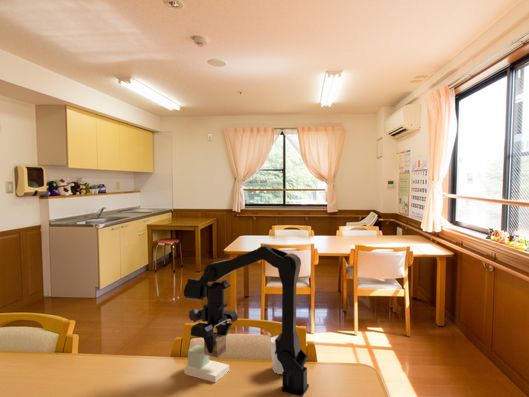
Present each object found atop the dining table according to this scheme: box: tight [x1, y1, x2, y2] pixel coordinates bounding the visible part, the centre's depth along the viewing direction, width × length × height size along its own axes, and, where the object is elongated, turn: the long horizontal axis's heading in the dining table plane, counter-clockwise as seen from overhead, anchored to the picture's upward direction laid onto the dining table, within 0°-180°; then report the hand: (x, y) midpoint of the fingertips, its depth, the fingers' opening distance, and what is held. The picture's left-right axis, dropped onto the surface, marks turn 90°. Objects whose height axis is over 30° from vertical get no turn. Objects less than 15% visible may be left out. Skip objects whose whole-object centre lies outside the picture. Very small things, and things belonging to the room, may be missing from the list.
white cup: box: [270, 335, 284, 376], centre depth 109 cm, size 8×8×10 cm
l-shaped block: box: [184, 344, 230, 384], centre depth 107 cm, size 12×8×7 cm, turn 64°
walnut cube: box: [203, 334, 227, 358], centre depth 106 cm, size 5×5×5 cm
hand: (215, 349), depth 106 cm, fingers closed on walnut cube, 5 cm apart
